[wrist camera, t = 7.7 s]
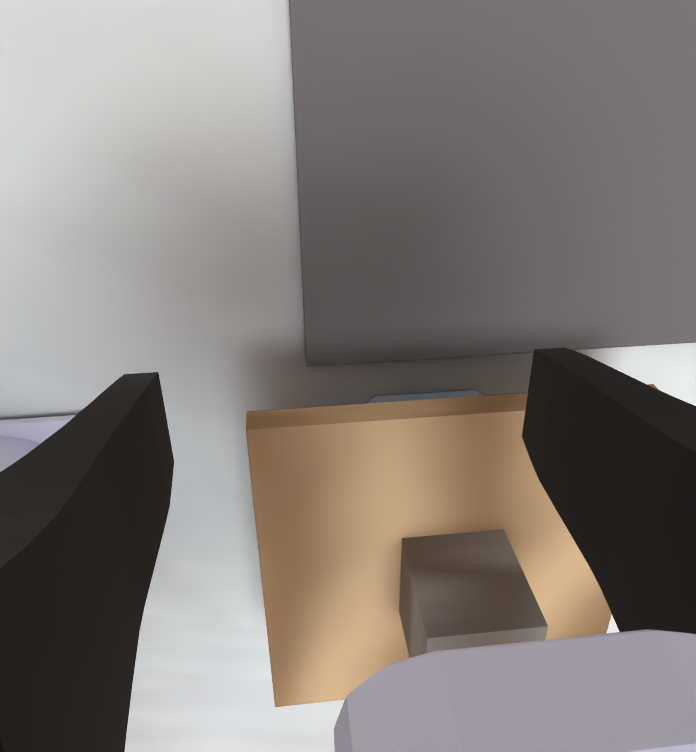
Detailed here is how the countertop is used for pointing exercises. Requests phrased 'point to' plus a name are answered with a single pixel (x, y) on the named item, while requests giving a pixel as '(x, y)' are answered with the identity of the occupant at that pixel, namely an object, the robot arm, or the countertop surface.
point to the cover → (406, 539)
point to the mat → (494, 175)
